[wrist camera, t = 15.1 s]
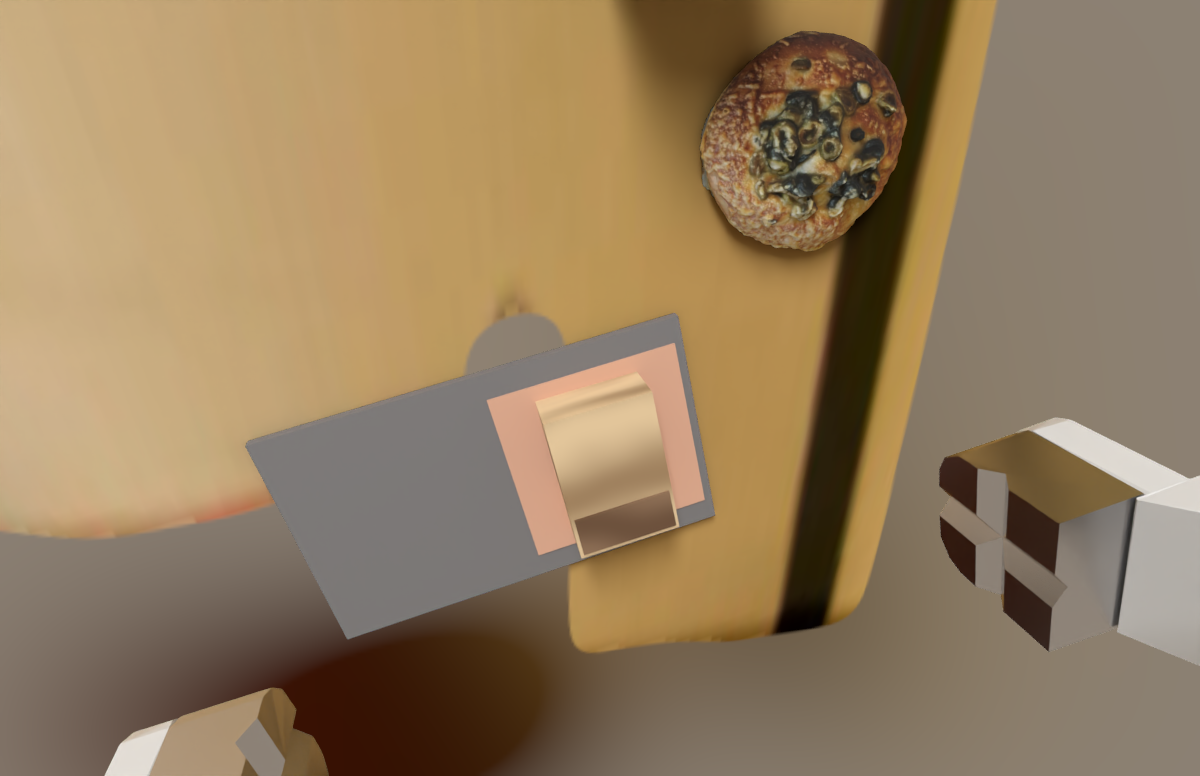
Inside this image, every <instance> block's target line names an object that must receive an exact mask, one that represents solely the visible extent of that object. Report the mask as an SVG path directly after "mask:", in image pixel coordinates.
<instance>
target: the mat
mask: <svg viewBox="0 0 1200 776" xmlns="http://www.w3.org/2000/svg"><path fill="white" fill-rule="evenodd" d="M633 372H638V374H639V375H640V376H641V378H642V379H643V380H644V382H645V383H646V384H647V386H648V387H649V388H650V390H651V391H652V393H653V398H654V403H655V408H656V413H657V418H658V423H659V428H660V433H661V438H662V443H663V448H664V452H665V457H666V462H667V467H668V472H669V477H670V482H671V487H672V492H673V497H674V502H675V507H676V512H677V517H678V522H679V527H682V526H685V525H688V524H691V523H694V522H697V521H700V520H703V519H706V518H709V517H712V516H715V512H714V507H713V501H712V496H711V491H710V485H709V480H708V474H707V469H706V464H705V458H704V453H703V448H702V442H701V437H700V431H699V426H698V421H697V415H696V410H695V405H694V399H693V394H692V388H691V383H690V378H689V372H688V367H687V361H686V356H685V351H684V345H683V340H682V335H681V329H680V324H679V318H678V316H677V315H676V314H675V313H673V314H669V315H666V316H663V317H659V318H656V319H653V320H649V321H646V322H643V323H639V324H636V325H633V326H629V327H626V328H623V329H619V330H616V331H613V332H609V333H606V334H603V335H599V336H596V337H593V338H589V339H586V340H583V341H579V342H576V343H573V344H569V345H566V346H563V347H559V348H556V349H553V350H550V351H546V352H543V353H540V354H536V355H533V356H530V357H526V358H523V359H520V360H516V361H513V362H510V363H506V364H503V365H500V366H496V367H493V368H490V369H487V370H483V371H480V372H476V373H473V374H470V375H466V376H463V377H460V378H456V379H453V380H450V381H446V382H443V383H440V384H436V385H433V386H430V387H426V388H423V389H420V390H416V391H413V392H410V393H406V394H403V395H400V396H396V397H393V398H390V399H386V400H383V401H380V402H376V403H373V404H370V405H366V406H363V407H360V408H356V409H353V410H350V411H346V412H343V413H340V414H336V415H333V416H330V417H326V418H323V419H320V420H316V421H313V422H310V423H306V424H303V425H300V426H296V427H293V428H290V429H286V430H283V431H280V432H276V433H273V434H270V435H266V436H263V437H260V438H256V439H253V440H250V441H248V442H247V444H246V446H245V447H246V449H247V451H248V452H249V454H250V456H251V458H252V460H253V462H254V464H255V466H256V468H257V469H258V471H259V473H260V475H261V477H262V479H263V481H264V483H265V485H266V486H267V488H268V490H269V492H270V494H271V496H272V498H273V500H274V502H275V503H276V505H277V507H278V509H279V511H280V513H281V515H282V517H283V519H284V520H285V522H286V524H287V526H288V528H289V530H290V532H291V533H292V536H293V537H294V539H295V541H296V543H297V545H298V547H299V549H300V551H301V552H302V554H303V556H304V558H305V560H306V562H307V564H308V566H309V568H310V570H311V571H312V573H313V575H314V577H315V579H316V581H317V582H318V585H319V587H320V588H321V590H322V592H323V594H324V596H325V598H326V600H327V602H328V604H329V605H330V607H331V609H332V611H333V613H334V615H335V617H336V619H337V621H338V622H339V624H340V626H341V628H342V630H343V632H344V634H345V636H346V638H347V639H351V638H353V637H356V636H359V635H362V634H365V633H368V632H371V631H374V630H377V629H380V628H383V627H386V626H389V625H392V624H395V623H398V622H401V621H404V620H406V619H410V618H413V617H416V616H419V615H421V614H424V613H427V612H430V611H433V610H436V609H439V608H442V607H445V606H448V605H451V604H454V603H457V602H460V601H463V600H465V599H469V598H472V597H475V596H478V595H481V594H484V593H487V592H489V591H493V590H495V589H498V588H501V587H504V586H507V585H510V584H513V583H516V582H519V581H522V580H525V579H528V578H531V577H534V576H537V575H540V574H543V573H546V572H549V571H552V570H555V569H558V568H561V567H563V566H567V565H570V564H573V563H575V562H578V561H581V560H584V559H587V558H590V557H593V556H596V555H599V554H602V553H605V552H608V551H611V550H614V549H617V548H620V547H623V546H626V545H629V544H632V543H635V542H638V541H641V540H644V539H647V538H649V537H647V538H644V539H641V540H638V541H634V542H631V543H628V544H625V545H622V546H619V547H616V548H613V549H610V550H607V551H604V552H601V553H598V554H595V555H592V556H589V557H586V558H583V559H581V556H580V553H579V549H578V546H577V543H576V540H575V537H574V534H573V531H572V528H571V525H570V521H569V518H568V514H567V511H566V507H565V504H564V500H563V497H562V493H561V490H560V486H559V483H558V479H557V476H556V472H555V469H554V465H553V462H552V459H551V455H550V452H549V448H548V445H547V441H546V438H545V434H544V431H543V427H542V424H541V420H540V417H539V413H538V410H537V406H536V403H535V402H536V401H539V400H542V399H546V398H549V397H553V396H556V395H559V394H563V393H566V392H569V391H573V390H576V389H579V388H583V387H586V386H590V385H593V384H596V383H600V382H603V381H606V380H610V379H613V378H616V377H620V376H623V375H627V374H630V373H633ZM679 527H677V528H679ZM674 529H676V528H674ZM671 530H673V529H671ZM668 531H670V530H668ZM665 532H667V531H665ZM662 533H664V532H662ZM659 534H661V533H659ZM656 535H658V534H656ZM653 536H655V535H653ZM650 537H652V536H650Z"/></svg>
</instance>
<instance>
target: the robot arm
mask: <svg viewBox="0 0 1200 776" xmlns="http://www.w3.org/2000/svg"><path fill="white" fill-rule="evenodd" d="M939 470H940V471H939V486H940V487H941V488H942V489H943V490H944V491H945V492H946V493H947V494H948V495H949V496H950V499H949V500H948V502H947V503H946V505H945V507H944V509H943V510H942V512H941V514H940V530H941V538H942V541H943V543H944V546H945V548H946V550H947V553H948V555H949V558H950V559H951V560H952V562H953V563H954V564H955V566H956V567H957V568H958V570H959V571H960V572H961V573H962V574H963V575H964V576H965V577H966V578H967V579H968V580H969V581H970V582H971V583H972V584H973V585H975V586H976V587H979V588H982V589H985V590H988V591H991V592H994V593H997V594H1000V595H1001V599H1002V606H1003V612H1004V613H1006V614H1007V615H1008V616H1009V617H1010V618H1011V619H1012V620H1013V621H1015V622H1016V623H1017V624H1018V625H1019V626H1020V627H1021V628H1022V629H1024V630H1025V631H1026V632H1027V633H1028V634H1029V635H1030V636H1031V637H1033V638H1034V639H1035V640H1036V641H1037V642H1038V643H1039V644H1040V645H1042V646H1043V647H1044V648H1045V649H1046V650H1047V651H1048V652H1050V651H1053V650H1056V649H1059V648H1062V647H1065V646H1067V645H1070V644H1073V643H1076V642H1079V641H1081V640H1085V639H1088V638H1090V637H1093V636H1096V635H1099V634H1102V633H1104V632H1107V631H1110V630H1113V629H1116V628H1118V631H1117V632H1118V633H1120V634H1123V635H1125V636H1128V637H1130V638H1133V639H1135V640H1137V641H1140V642H1142V643H1145V644H1147V645H1150V646H1152V647H1155V648H1157V649H1160V650H1162V651H1165V652H1167V653H1169V654H1172V655H1174V656H1177V657H1179V658H1182V659H1184V660H1186V661H1189V662H1191V663H1194V664H1196V665H1199V666H1200V476H1198V477H1195V478H1192V479H1188V478H1186V477H1184V476H1182V475H1180V474H1178V473H1176V472H1174V471H1172V470H1170V469H1168V468H1166V467H1164V466H1162V465H1160V464H1158V463H1156V462H1154V461H1152V460H1150V459H1148V458H1146V457H1144V456H1142V455H1140V454H1138V453H1136V452H1134V451H1132V450H1130V449H1128V448H1126V447H1124V446H1122V445H1120V444H1118V443H1116V442H1114V441H1112V440H1110V439H1108V438H1106V437H1104V436H1102V435H1100V434H1098V433H1096V432H1094V431H1092V430H1090V429H1088V428H1086V427H1084V426H1082V425H1080V424H1078V423H1076V422H1074V421H1072V420H1070V419H1062V418H1052V419H1049V420H1047V421H1044V422H1041V423H1038V424H1036V425H1033V426H1030V427H1028V428H1025V429H1022V430H1019V431H1018V432H1017V433H1014V434H1011V435H1008V436H1005V437H1002V438H999V439H996V440H994V441H991V442H988V443H985V444H982V445H979V446H976V447H974V448H971V449H968V450H965V451H962V452H959V453H956V454H954V455H951V456H948V457H945V458H944V460H943V462H942V464H941V467H940V469H939ZM295 712H296V709H295V707H294V706H293V704H292V703H291V701H290V700H289V698H288V697H287V695H286V694H285V692H284V691H283V690H282V689H276V688H269V689H266V690H263V691H260V692H257V693H254V694H250V695H247V696H244V697H241V698H238V699H234V700H231V701H228V702H225V703H222V704H219V705H216V706H213V707H209V708H206V709H203V710H200V711H197V712H194V713H190V714H188V715H184V716H182V717H180V718H179V719H175V720H171V721H168V722H165V723H162V724H159V725H156V726H152V727H150V728H146V729H143V730H140V731H137V732H134V733H132V734H131V735H130V736H129V737H128V738H127V739H125V740H124V741H123V742H122V743H121V744H120V745H119V747H118V749H117V751H116V753H115V755H114V757H113V759H112V761H111V763H110V765H109V767H108V769H107V772H106V774H105V776H328V770H327V767H326V764H325V761H324V758H323V755H322V752H321V750H320V748H319V746H318V745H317V743H316V741H315V739H314V738H313V736H311V735H308V734H306V733H303V732H301V731H298V730H296V729H293V728H292V726H293V721H294V716H295Z"/></svg>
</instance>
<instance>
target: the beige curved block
mask: <svg viewBox="0 0 1200 776" xmlns="http://www.w3.org/2000/svg"><path fill="white" fill-rule="evenodd" d="M535 403H536V406H537V410H538V413H539V417H540V420H541V424H542V427H543V431H544V434H545V438H546V441H547V445H548V448H549V452H550V455H551V459H552V462H553V465H554V469H555V472H556V476H557V479H558V483H559V486H560V490H561V493H562V497H563V500H564V504H565V507H566V511H567V514H568V518H569V521H570V525H571V528H572V531H573V534H574V537H575V540H576V543H577V546H578V549H579V553H580V556H581V559H583V558H586V557H589V556H592V555H595V554H598V553H601V552H604V551H607V550H610V549H613V548H616V547H619V546H622V545H625V544H628V543H631V542H634V541H638V540H641V539H644V538H647V537H650V536H653V535H656V534H659V533H662V532H665V531H668V530H671V529H674V528H677V527H679V522H678V517H677V512H676V507H675V502H674V497H673V492H672V487H671V482H670V477H669V472H668V467H667V462H666V457H665V452H664V448H663V443H662V438H661V433H660V428H659V423H658V418H657V413H656V408H655V403H654V398H653V393H652V391H651V390H650V388H649V387H648V386H647V384H646V383H645V382H644V380H643V379H642V378H641V376H640V375H639V374H638V372H633V373H630V374H627V375H623V376H620V377H616V378H613V379H610V380H606V381H603V382H600V383H596V384H593V385H590V386H586V387H583V388H579V389H576V390H573V391H569V392H566V393H563V394H559V395H556V396H553V397H549V398H546V399H542V400H539V401H536V402H535Z"/></svg>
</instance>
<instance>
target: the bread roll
mask: <svg viewBox="0 0 1200 776" xmlns="http://www.w3.org/2000/svg"><path fill="white" fill-rule="evenodd" d="M906 122H907V119H906V115H905V112H904V107H903V105H902V104H901V99H900V95H899V93H898V91H897V88H896V85H895V82H894V81H893V79H892V76H891V74H890V72H889V70H888V69H887V67H886V66H885V65H884V64H883V63H882V62H881V61H880V60H879V59H878V58H877V56H876V55H875V54H874V53H873V52H872V51H871V50H869V49H868V48H867V47H866V46H865V45H863V44H861V43H858V42H856V41H854V40H852V39H849V38H847V37H845V36H841V35H836V34H831V33H819V32H816V31H801V32H797V33H795V34H793V35H791V36H789V37H785V38H783V39H781V40H779V41H777V42H776V43H775V44H773V45H771V46H769V47H768V48H767V49H766V50H764V51H763V52H762V53H760V54H759V55H757V56H756V57H755V58H754V59H753V60H752V61H750V62H749V63H748V64H747V65H746V66H745V68H744V69H742V70H741V71H740V72H739V73H738V74H737V75H736V76H735V77H734V78H733V80H732V81H731V82H730V84H729V85H728V86H727V87H726V89H725V90H724V91H723V92H722V94H721V96H720V97H719V99H718V100H717V101H716V103H715V106H713V107H712V109H711V110H710V113H709V115H708V118H707V119H706V123H705V124H704V128H703V129H702V134H701V136H702V137H701V139H702V141H701V144H700V146H699V149H700V151H701V153H702V155H701V160H702V161H703V162H702V164H703V168H702V171H703V174H702V180H703V186H704V187H706V189H707V190H709V189H710V190H711V194H712V196H713V197H714V198H715V200H716V202H717V204H718V205H719V207H720V209H721V210H722V212H723V213H724V215H725V216H726V218H727V220H728V221H729V223H730V224H731V225H732V226H734V227H735V228H737V229H738V230H739V232H742V233H743V235H745V236H750V237H753V238H754V239H755V240H759V241H760V242H762V243H763V244H765V245H772V246H773V247H775V248H781V247H783V248H789V247H791V248H793V249H798V248H799V249H801V250H803V251H813V250H817V249H820V248H822V247H823V246H824V245H825V244H826V243H828V242H830V241H832V240H835V239H836V238H838V237H839V236H841V235H842V234H845V232H846V231H847V230H848V229H849V228H850V227H851V226H852V225H853V224H854V222H855V220H856V219H857V218H858V217H859V216H861V215H862V214H863V213H864V212H865V211H866V210H867V209H868V208H869V207H870V206H871V205H872V204H873V202H874V201H875V200H876V199H877V197H878V196H879V195H880V194H881V193H882V191H883V187H884V185H885V184H886V183H887V181H888V178H889V176H890V174H891V172H892V171H893V170H894V169H895V166H896V164H897V157H898V154H899V151H900V148H901V142H902V136H903V134H904V130H905V127H906Z"/></svg>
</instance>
